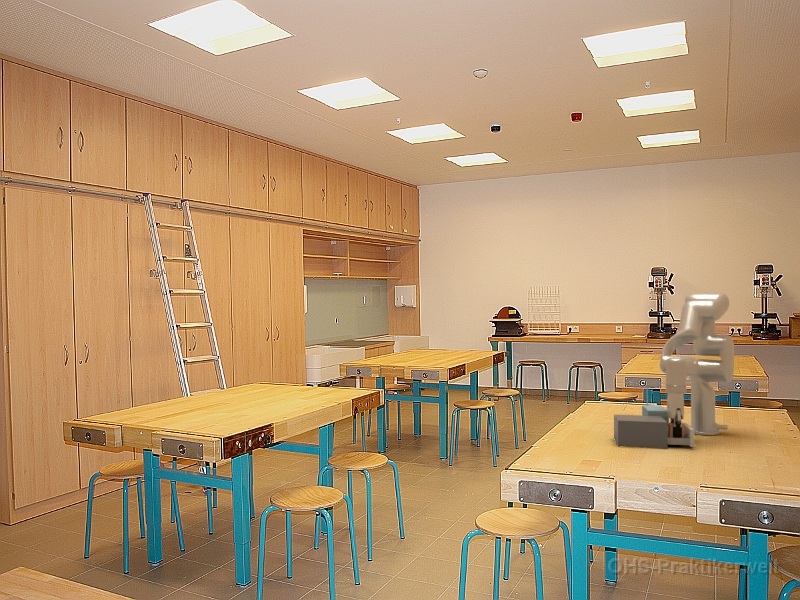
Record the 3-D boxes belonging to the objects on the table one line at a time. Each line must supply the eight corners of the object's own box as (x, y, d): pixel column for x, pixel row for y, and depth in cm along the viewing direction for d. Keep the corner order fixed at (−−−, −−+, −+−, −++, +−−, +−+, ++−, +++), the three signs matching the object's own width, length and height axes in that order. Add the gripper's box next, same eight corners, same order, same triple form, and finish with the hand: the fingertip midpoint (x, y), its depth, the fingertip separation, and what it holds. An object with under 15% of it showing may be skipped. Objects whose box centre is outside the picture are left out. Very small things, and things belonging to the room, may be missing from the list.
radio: (671, 440, 274) (671, 391, 274) (647, 439, 275) (647, 390, 276) (664, 433, 289) (664, 386, 289) (642, 432, 291) (642, 386, 291)
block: (681, 435, 266) (681, 423, 266) (684, 438, 261) (684, 425, 261) (668, 435, 267) (668, 422, 267) (670, 437, 262) (670, 424, 262)
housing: (660, 440, 272) (660, 416, 272) (667, 448, 257) (667, 422, 257) (613, 438, 276) (613, 414, 276) (618, 446, 261) (618, 420, 261)
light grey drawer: (685, 438, 270) (685, 422, 270) (694, 446, 255) (694, 429, 255) (641, 436, 274) (641, 421, 274) (647, 444, 259) (647, 428, 259)
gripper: (662, 386, 273) (662, 431, 273) (669, 391, 256) (669, 439, 256) (681, 387, 272) (681, 432, 271) (690, 392, 255) (691, 440, 255)
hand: (676, 435), depth 264 cm, fingers closed on block, 4 cm apart
